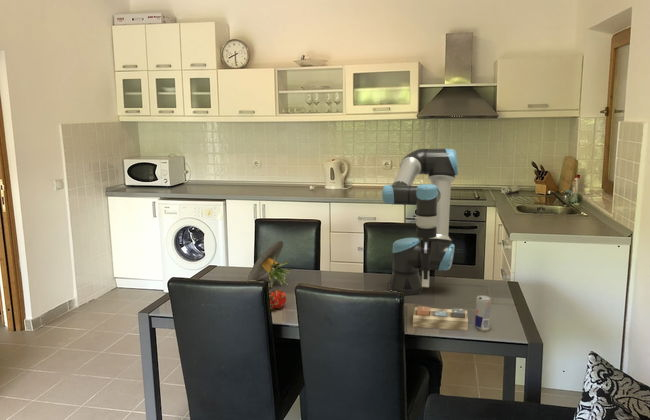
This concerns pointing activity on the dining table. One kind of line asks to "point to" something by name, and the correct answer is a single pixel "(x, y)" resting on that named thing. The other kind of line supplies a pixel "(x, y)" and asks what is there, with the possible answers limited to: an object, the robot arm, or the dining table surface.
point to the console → (440, 320)
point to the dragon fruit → (277, 299)
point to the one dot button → (423, 310)
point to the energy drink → (483, 313)
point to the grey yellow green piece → (269, 265)
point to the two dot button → (457, 313)
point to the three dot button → (440, 313)
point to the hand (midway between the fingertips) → (425, 286)
